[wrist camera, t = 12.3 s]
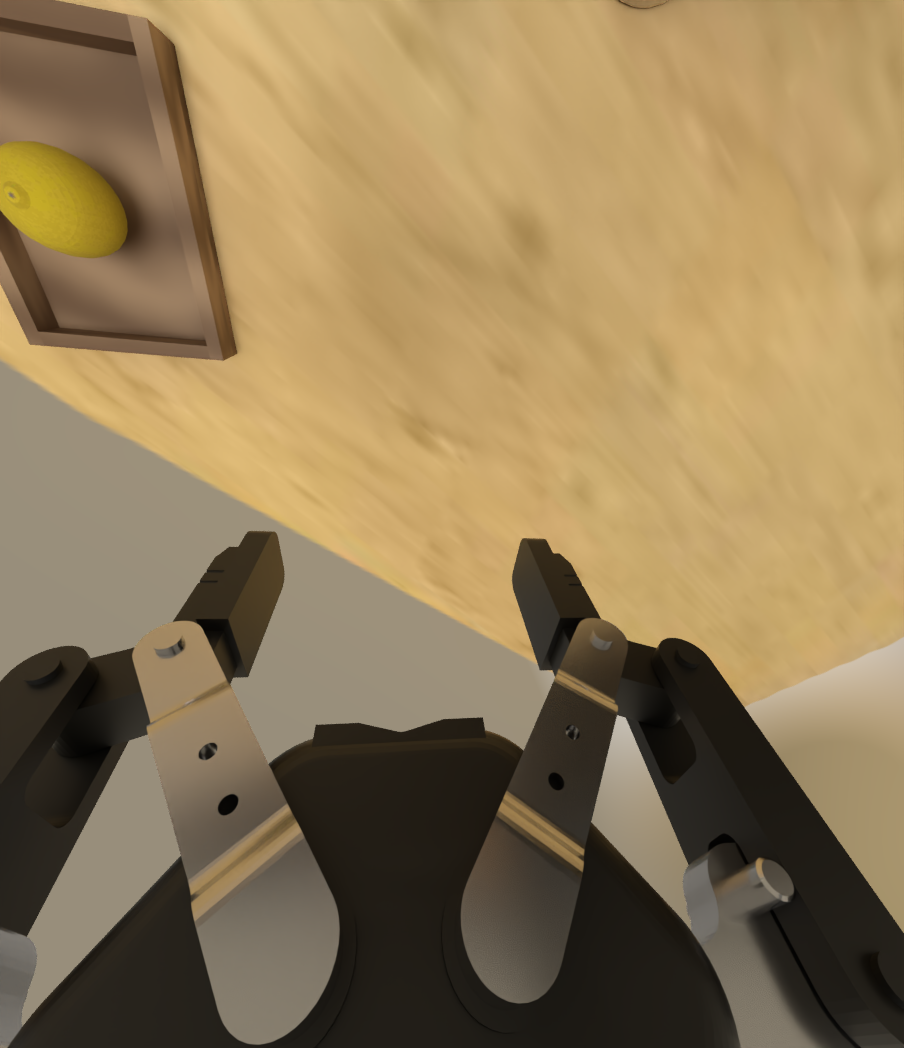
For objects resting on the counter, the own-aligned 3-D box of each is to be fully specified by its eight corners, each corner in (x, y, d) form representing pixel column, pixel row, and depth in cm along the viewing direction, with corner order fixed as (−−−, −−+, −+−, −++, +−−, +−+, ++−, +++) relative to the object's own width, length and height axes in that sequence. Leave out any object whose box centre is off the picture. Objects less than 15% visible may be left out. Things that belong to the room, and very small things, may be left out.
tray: (-93, -7, 22) (-157, -41, 19) (174, 44, 23) (146, 18, 21) (59, 338, 32) (30, 344, 29) (236, 353, 33) (223, 360, 31)
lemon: (57, 229, 27) (-53, 217, 21) (60, 137, 25) (-64, 90, 18) (145, 275, 29) (70, 277, 23) (156, 194, 27) (75, 171, 20)
